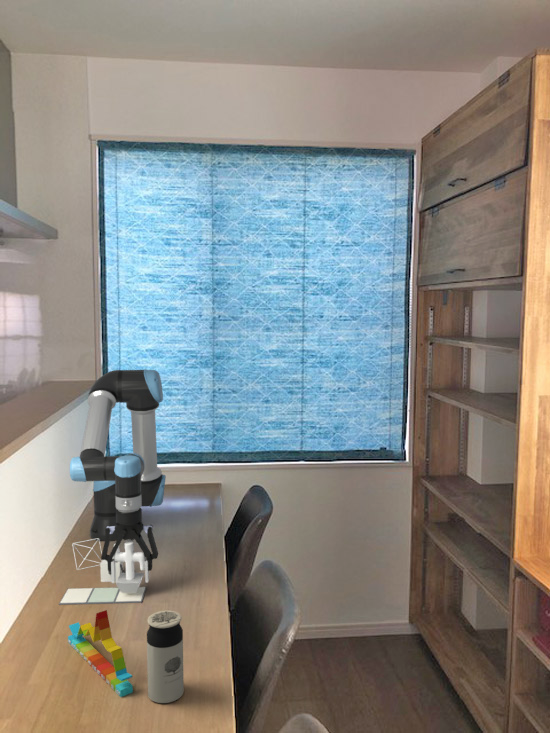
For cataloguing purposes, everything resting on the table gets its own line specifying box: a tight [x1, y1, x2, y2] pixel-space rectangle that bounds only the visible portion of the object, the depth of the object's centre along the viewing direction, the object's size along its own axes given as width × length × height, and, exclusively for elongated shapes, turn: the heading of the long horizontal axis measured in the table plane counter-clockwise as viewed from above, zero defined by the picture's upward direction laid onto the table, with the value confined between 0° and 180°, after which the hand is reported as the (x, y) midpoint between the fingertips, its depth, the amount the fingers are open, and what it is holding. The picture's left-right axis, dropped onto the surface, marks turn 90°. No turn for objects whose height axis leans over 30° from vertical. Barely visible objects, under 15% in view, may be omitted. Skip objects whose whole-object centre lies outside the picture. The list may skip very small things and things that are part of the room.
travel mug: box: [146, 609, 185, 704], centre depth 147 cm, size 8×8×18 cm
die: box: [99, 556, 125, 583], centre depth 208 cm, size 6×6×6 cm
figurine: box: [112, 539, 146, 593], centre depth 196 cm, size 7×9×15 cm
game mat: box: [58, 586, 147, 606], centre depth 196 cm, size 10×24×1 cm, turn 93°
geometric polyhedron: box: [71, 538, 103, 571], centre depth 219 cm, size 10×9×8 cm
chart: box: [67, 609, 134, 698], centre depth 158 cm, size 30×3×15 cm, turn 39°
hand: (130, 580), depth 196 cm, fingers closed on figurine, 9 cm apart
